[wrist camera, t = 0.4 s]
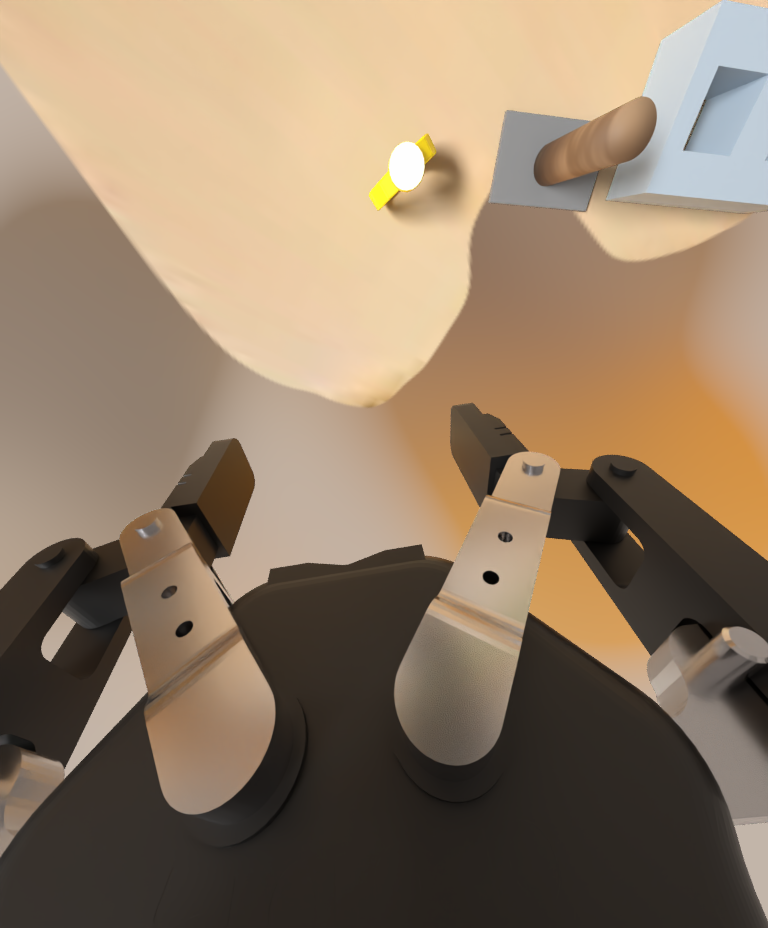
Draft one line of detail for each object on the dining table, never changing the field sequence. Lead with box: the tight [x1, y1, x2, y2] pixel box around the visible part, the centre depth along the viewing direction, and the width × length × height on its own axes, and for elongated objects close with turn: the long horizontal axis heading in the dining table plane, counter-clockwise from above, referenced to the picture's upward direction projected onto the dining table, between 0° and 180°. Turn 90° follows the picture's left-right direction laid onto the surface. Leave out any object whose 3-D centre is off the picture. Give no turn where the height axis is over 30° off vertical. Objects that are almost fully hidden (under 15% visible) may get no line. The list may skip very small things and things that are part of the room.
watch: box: [369, 134, 436, 210], centre depth 26 cm, size 6×3×6 cm, turn 128°
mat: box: [488, 110, 599, 211], centre depth 29 cm, size 6×10×1 cm, turn 87°
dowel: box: [534, 96, 657, 186], centre depth 24 cm, size 3×3×10 cm
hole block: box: [606, 0, 768, 213], centre depth 27 cm, size 10×16×5 cm, turn 87°
